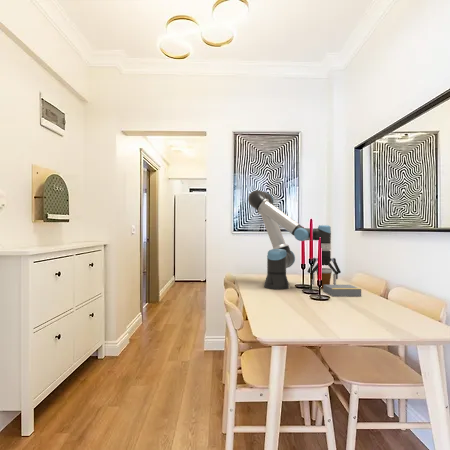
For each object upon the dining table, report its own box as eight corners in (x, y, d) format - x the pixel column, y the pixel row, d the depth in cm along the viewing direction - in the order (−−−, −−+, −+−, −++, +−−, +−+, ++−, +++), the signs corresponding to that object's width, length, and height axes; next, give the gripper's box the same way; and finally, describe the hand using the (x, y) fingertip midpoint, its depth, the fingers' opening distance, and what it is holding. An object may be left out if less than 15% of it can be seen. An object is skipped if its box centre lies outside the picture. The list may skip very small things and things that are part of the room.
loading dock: (332, 296, 179) (332, 288, 179) (323, 291, 193) (323, 284, 193) (361, 296, 180) (361, 288, 180) (349, 291, 194) (350, 284, 194)
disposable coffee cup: (312, 287, 205) (312, 268, 206) (324, 286, 209) (324, 267, 210) (323, 290, 197) (323, 270, 197) (335, 289, 201) (335, 269, 201)
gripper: (306, 250, 199) (305, 285, 199) (346, 250, 200) (346, 285, 200) (302, 249, 206) (302, 283, 206) (341, 249, 208) (341, 283, 208)
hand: (323, 284), depth 203 cm, fingers open, 13 cm apart
